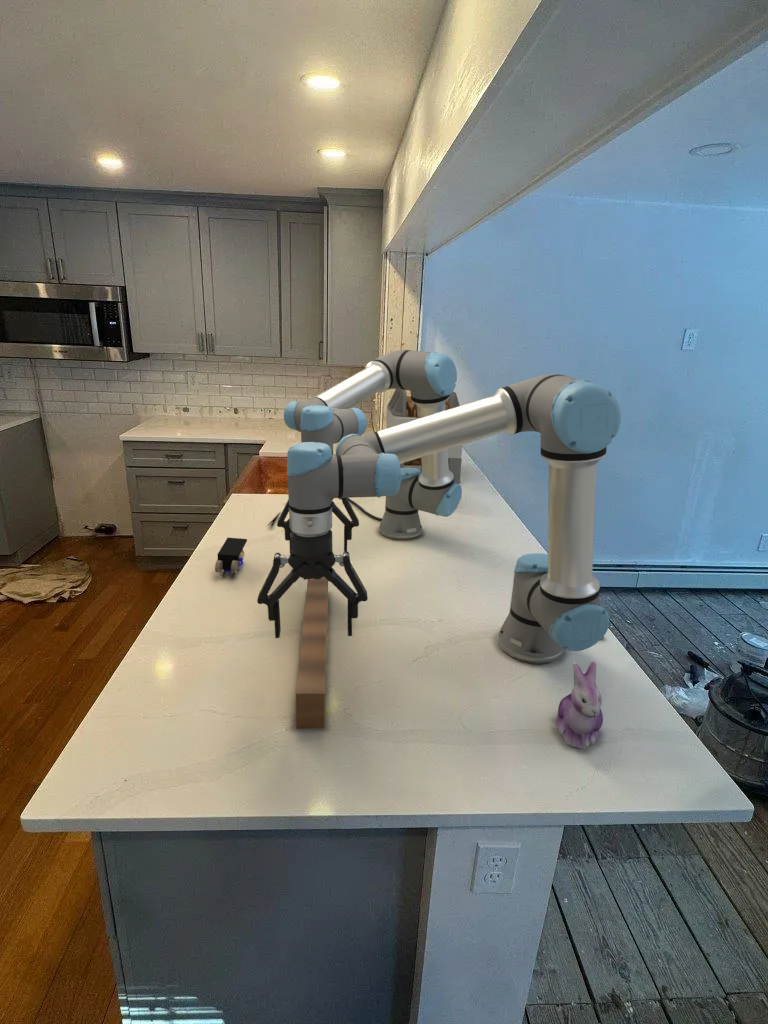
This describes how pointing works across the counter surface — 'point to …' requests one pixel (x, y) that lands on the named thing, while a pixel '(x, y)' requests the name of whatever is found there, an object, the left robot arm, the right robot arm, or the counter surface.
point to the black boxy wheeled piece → (230, 556)
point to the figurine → (581, 709)
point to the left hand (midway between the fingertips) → (318, 551)
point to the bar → (313, 657)
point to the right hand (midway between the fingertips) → (314, 633)
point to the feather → (273, 520)
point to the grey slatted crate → (406, 411)
